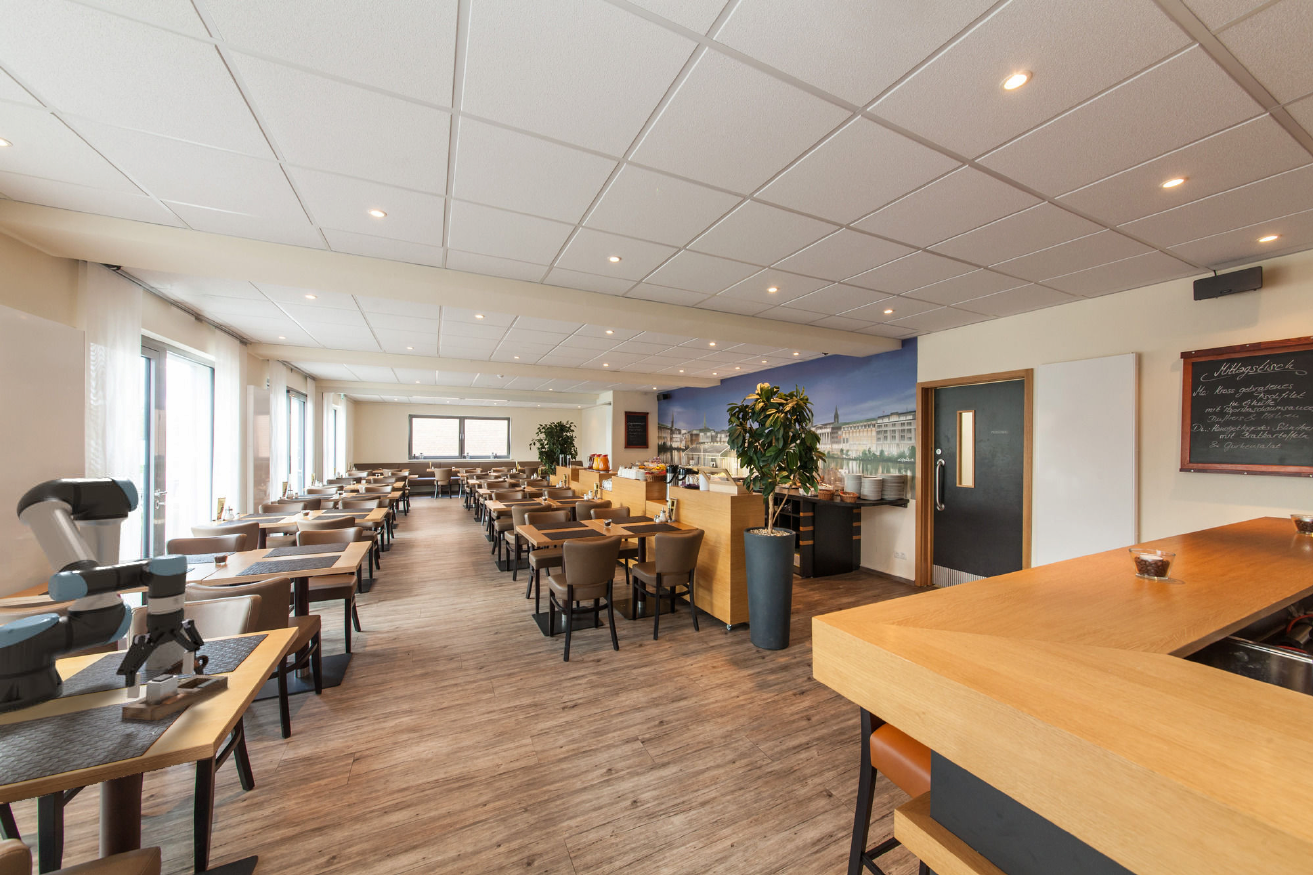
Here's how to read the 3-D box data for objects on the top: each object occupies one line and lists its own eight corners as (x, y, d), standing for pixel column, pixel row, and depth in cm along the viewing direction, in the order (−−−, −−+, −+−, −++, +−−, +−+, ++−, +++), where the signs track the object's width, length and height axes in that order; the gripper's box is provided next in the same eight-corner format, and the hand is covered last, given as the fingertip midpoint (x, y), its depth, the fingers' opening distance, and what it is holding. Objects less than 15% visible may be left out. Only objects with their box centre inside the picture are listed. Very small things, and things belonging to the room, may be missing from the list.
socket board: (121, 717, 128) (122, 705, 128) (195, 684, 147) (196, 673, 147) (157, 720, 127) (158, 707, 127) (227, 686, 146) (227, 675, 146)
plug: (145, 712, 131) (146, 680, 131) (162, 704, 135) (164, 673, 136) (159, 713, 131) (161, 681, 131) (176, 705, 135) (178, 673, 135)
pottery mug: (186, 690, 145) (170, 669, 143) (164, 700, 146) (147, 680, 145) (223, 663, 157) (208, 643, 155) (202, 673, 158) (186, 654, 156)
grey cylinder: (164, 670, 156) (166, 633, 156) (136, 670, 156) (138, 632, 157) (193, 658, 166) (194, 623, 166) (166, 657, 166) (168, 622, 166)
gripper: (124, 626, 121) (119, 709, 120) (222, 597, 146) (218, 666, 145) (99, 625, 122) (94, 707, 121) (200, 596, 147) (196, 664, 146)
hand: (161, 685), depth 133 cm, fingers open, 13 cm apart
